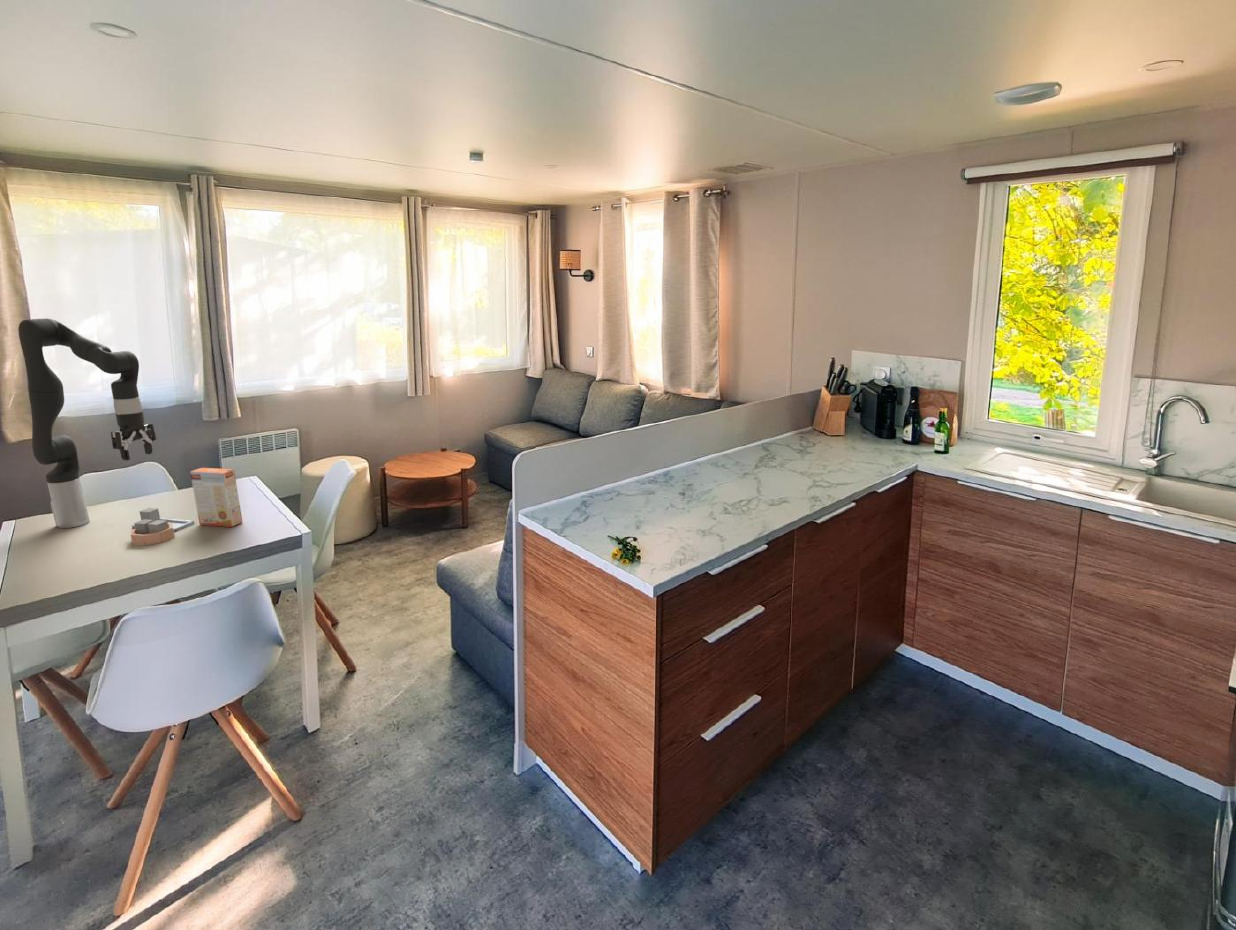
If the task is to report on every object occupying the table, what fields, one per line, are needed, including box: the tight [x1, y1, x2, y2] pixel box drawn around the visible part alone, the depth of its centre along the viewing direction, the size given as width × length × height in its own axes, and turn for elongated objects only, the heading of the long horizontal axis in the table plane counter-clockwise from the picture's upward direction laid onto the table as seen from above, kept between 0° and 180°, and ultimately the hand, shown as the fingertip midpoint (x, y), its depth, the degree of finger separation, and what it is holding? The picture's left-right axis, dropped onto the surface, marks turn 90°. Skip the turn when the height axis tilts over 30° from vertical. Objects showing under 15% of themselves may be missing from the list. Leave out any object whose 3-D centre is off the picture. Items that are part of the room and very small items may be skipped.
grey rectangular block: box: [148, 520, 168, 534], centre depth 228 cm, size 4×4×6 cm
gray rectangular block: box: [133, 519, 154, 535], centre depth 229 cm, size 4×4×6 cm
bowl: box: [130, 523, 175, 546], centre depth 229 cm, size 12×12×4 cm
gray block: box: [139, 507, 161, 521], centre depth 241 cm, size 4×4×6 cm
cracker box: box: [189, 467, 243, 528], centre depth 241 cm, size 14×6×21 cm, turn 78°
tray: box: [131, 517, 195, 533], centre depth 241 cm, size 18×9×1 cm, turn 78°
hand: (137, 457), depth 226 cm, fingers open, 8 cm apart
